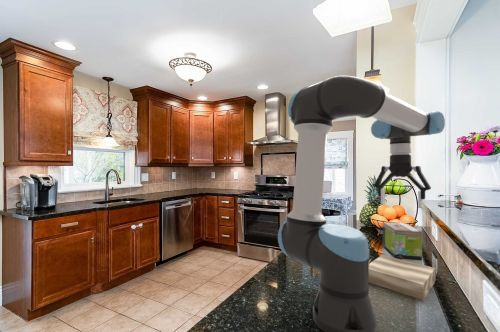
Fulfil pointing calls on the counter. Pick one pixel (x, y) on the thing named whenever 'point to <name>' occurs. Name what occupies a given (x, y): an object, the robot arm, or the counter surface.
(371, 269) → the birch base block
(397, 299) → the counter surface
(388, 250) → the tea box
